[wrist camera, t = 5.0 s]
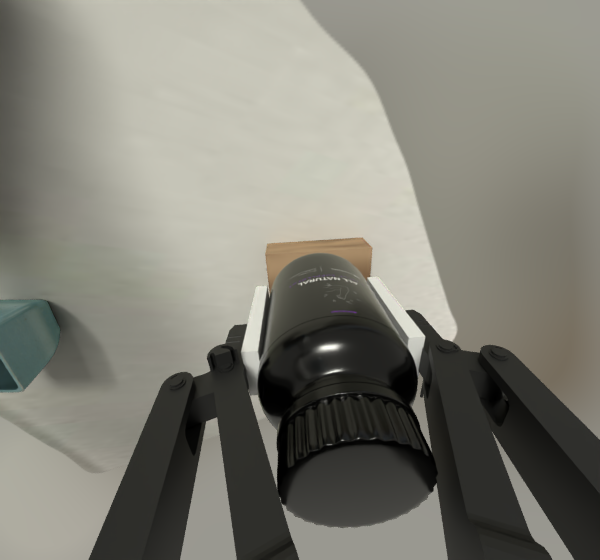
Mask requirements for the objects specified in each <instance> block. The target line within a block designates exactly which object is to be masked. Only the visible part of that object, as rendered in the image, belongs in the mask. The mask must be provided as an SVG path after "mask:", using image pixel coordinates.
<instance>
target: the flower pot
mask: <svg viewBox="0 0 600 560" xmlns="http://www.w3.org/2000/svg"><path fill="white" fill-rule="evenodd" d="M59 338H60V327H59V325H58V323H57V321H56V319H55V317H54V315H53V313H52V311H51V309H50V306H49V304H48V302H47V301H45V300H0V392H21V391H24V390H25V389H26V387H27V386H28V385H29V384H30V383H31V382H32V381H33V379H34V378H35V377H36V376H37V375H38V374H39V373H40V371H41V370H42V369H43V368H44V367H45V365H46V364H47V363H48V362H49V361H50V359H51V358H52V356H53V355H54V353H55V351H56V349H57V346H58V342H59Z"/></svg>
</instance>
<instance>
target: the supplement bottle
mask: <svg viewBox="0 0 600 560" xmlns="http://www.w3.org/2000/svg"><path fill="white" fill-rule="evenodd" d="M417 385H418V375H417V368H416V364H415V361H414V358H413V356H412V354H411V352H410V350H409V349H408V346H407V345H406V343H405V342H404V340H403V338H402V337H401V335H400V334H399V332H398V330H397V329H396V327H395V326H394V324H393V322H392V321H391V319H390V318H389V316H388V315H387V313H386V311H385V310H384V308H383V307H382V305H381V303H380V302H379V300H378V299H377V297H376V295H375V294H374V292H373V291H372V289H371V287H370V286H369V284H368V283H367V281H366V280H365V278H364V277H363V275H362V274H361V272H360V271H359V270H358V269H357V268H356V267H355V266H354V265H353V264H352V263H351V262H350V261H348V260H346V259H344V258H342V257H340V256H337V255H334V254H329V253H312V254H308V255H304V256H301V257H299V258H297V259H295V260H293V261H292V262H290V263H289V264H287V265H286V266H285V267H284V268H283V269H282V270H281V271H280V272H279V274H278V275H277V277H276V278H275V280H274V283H273V285H272V288H271V293H270V298H269V304H268V311H267V318H266V324H265V331H264V337H263V344H262V351H261V357H260V364H259V371H258V381H257V391H258V397H259V401H260V404H261V407H262V409H263V411H264V413H265V415H266V417H267V418H268V420H269V421H270V423H271V424H272V425H273V426H274V427H275V428H276V429H277V451H278V468H277V490H278V494H279V497H280V498H281V503H282V504H283V505H285V506H286V508H287V510H288V511H290V512H292V513H293V514H294V516H295V517H298V518H302V519H303V520H304V521H306V522H312V523H314V524H316V525H324V526H327V527H340V528H346V527H360V526H371V525H374V524H379V523H384V522H386V521H388V520H392V519H396V518H397V517H399V516H401V515H403V514H406V513H408V512H410V511H411V510H412V509H414V508H416V507H418V506H419V505H420V503H422V502H423V501H425V500H426V499H427V498H428V495H429V494H430V493H432V492H433V487H434V486H435V485H436V483H437V479H436V477H437V475H438V470H437V467H436V463H435V459H434V457H433V454H432V452H431V450H430V448H429V446H428V444H427V442H426V440H425V438H424V436H423V434H422V432H421V430H420V425H419V422H418V419H417V417H416V415H415V413H414V411H413V409H412V405H413V403H414V400H415V397H416V392H417Z"/></svg>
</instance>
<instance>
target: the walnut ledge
mask: <svg viewBox="0 0 600 560" xmlns="http://www.w3.org/2000/svg"><path fill="white" fill-rule="evenodd" d="M312 253H329V254H334V255H337V256H340V257H342V258H344V259H346V260H348V261H350V262H351V263H352V264H353V265H354V266H355V267H356V268H357V269H358V270H359V271H360V272H361V274H362V275H363V277H364V278H365V280H366V281H367V278H368V277H370V271H371V258H372V247H371V246H370V245H369V244H368V243H367V242H366V241H365V240H364V239H363V238H350V239H334V240H318V241H303V242H287V243H272V244H267V249H266V254H265V256H266V264H267V273H268V282H269V291H270V293H271V288H272V285H273V283H274V280H275V278H276V277H277V275H278V274H279V272H280V271H281V270H282V269H283V268H284V267H285V266H286V265H287V264H289V263H290V262H292V261H293V260H295V259H297V258H299V257H301V256H304V255H308V254H312Z"/></svg>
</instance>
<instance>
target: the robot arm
mask: <svg viewBox="0 0 600 560" xmlns="http://www.w3.org/2000/svg"><path fill="white" fill-rule="evenodd" d="M367 283H368V284H369V286H370V287H371V289H372V291H373V292H374V294H375V295H376V297H377V299H378V300H379V302H380V303H381V305H382V307H383V308H384V310H385V311H386V313H387V315H388V316H389V318H390V319H391V321H392V322H393V324H394V326H395V327H396V329H397V330H398V332H399V334H400V335H401V337H402V338H403V340H404V342H405V343H406V345H407V346H408V349H409V350H410V352H411V354H412V356H413V358H414V361H415V364H416V368H417V375H419V372H420V374H421V375H422V377H423V383H422V389H421V395H420V397H423V395H424V401H425V408H426V415H427V421H428V428H429V435H430V441H431V448H432V454H433V457H434V459H435V463H436V467H437V470H438V475H437V477H436V479H437V488H438V494H439V502H440V508H441V515H442V522H443V529H444V535H445V542H446V549H447V556H448V560H552V558H551V556H550V555H549V553H548V552H547V550H546V549H545V548H544V547H543V546H541V545H540V544H538V543H537V542H535V541H534V539H533V538H532V536H531V534H530V532H529V529H528V527H527V524H526V521H525V519H524V516H523V513H522V511H521V508H520V505H519V503H518V500H517V497H516V495H515V492H514V489H513V487H512V484H511V481H510V479H509V476H508V473H507V471H506V468H505V465H504V463H503V460H502V457H501V455H500V452H499V449H498V446H497V444H496V441H495V438H494V436H493V433H494V435H495V436H496V438H497V439H498V441H499V443H500V444H501V446H502V447H503V449H504V451H505V452H506V454H507V455H508V457H509V458H510V460H511V461H512V463H513V464H514V466H515V468H516V469H517V471H518V472H519V474H520V475H521V477H522V479H523V480H524V482H525V483H526V485H527V486H528V488H529V489H530V491H531V492H532V494H533V496H534V497H535V499H536V500H537V502H538V504H539V505H540V507H541V508H542V510H543V511H544V513H545V514H546V516H547V517H548V519H549V521H550V522H551V523H552V525H553V527H554V528H555V530H556V531H557V533H558V535H559V536H560V538H561V539H562V541H563V542H564V544H565V545H566V547H567V548H568V550H569V552H570V553H571V555H572V556H573V558H574V560H600V440H599V439H598V438H597V437H596V436H595V435H594V434H593V433H592V432H591V431H590V430H589V429H588V428H587V427H586V426H585V425H584V424H583V423H582V422H581V421H580V420H579V419H578V418H577V417H576V416H575V415H574V414H573V413H572V412H571V411H570V410H569V409H568V408H567V407H566V406H565V405H564V404H563V403H562V402H561V401H560V400H559V399H558V398H557V397H556V396H555V395H554V394H553V393H552V392H551V391H550V390H549V389H548V388H547V387H546V386H545V385H544V384H543V383H542V382H541V381H540V380H539V379H538V378H537V377H536V376H535V375H534V374H533V373H532V372H531V371H530V370H529V369H528V368H527V367H526V366H525V365H524V364H523V363H522V362H521V361H520V360H519V359H518V358H517V357H516V356H515V355H514V354H513V353H511V352H510V351H509V350H507V349H505V348H502V347H499V346H495V345H486V346H483V347H482V348H481V350H480V353H477V352H469V351H463V350H461V349H460V347H459V346H458V345H456V344H455V343H453V342H451V341H448V340H444V339H442V338H441V337H440V335H439V334H438V333H437V332H436V331H435V330H434V329H433V327H432V326H431V325H430V324H429V323H428V322H427V321H426V319H425V318H424V317H423V316H422V315H421V314H420V313H418V312H416V311H415V310H404V309H403V308H402V306H401V305H400V304H399V302H398V301H397V300H396V299H395V297H394V296H393V295H392V294H391V292H390V291H389V290H388V289H387V287H386V286H385V285H384V283H383V282H382V281H381V280H380V278H379V277H368V278H367ZM268 304H269V294H268V286H257V287H256V290H255V294H254V299H253V303H252V307H251V311H250V316H249V320H248V324H244V325H235V326H234V327H233V328H232V329H231V330H230V331H229V334H228V337H227V340H226V343H225V344H222V345H219V346H216V347H214V348H213V349H212V350H210V352H209V353H208V355H207V360H208V363H209V367H210V370H211V371H210V372H208V373H206V374H203V375H200V376H197V377H194V378H193V376H192V375H191V374H190V373H187V372H180V373H177V374H174V375H172V376H171V377H169V378H168V379H167V380H165V381H164V383H163V384H162V386H161V388H160V390H159V393H158V395H157V398H156V400H155V402H154V405H153V407H152V410H151V412H150V414H149V417H148V419H147V421H146V424H145V426H144V429H143V431H142V433H141V436H140V438H139V441H138V443H137V445H136V448H135V450H134V453H133V455H132V457H131V460H130V462H129V464H128V467H127V469H126V472H125V475H124V477H123V479H122V481H121V484H120V486H119V488H118V491H117V493H116V495H115V498H114V500H113V503H112V505H111V507H110V510H109V513H108V515H107V517H106V519H105V522H104V524H103V526H102V529H101V531H100V534H99V536H98V538H97V541H96V543H95V546H94V548H93V550H92V553H91V555H90V558H89V560H180V556H181V551H182V546H183V541H184V535H185V530H186V525H187V519H188V514H189V509H190V504H191V498H192V493H193V488H194V482H195V477H196V472H197V466H198V461H199V456H200V451H201V445H202V440H203V435H204V430H205V424H206V421H208V420H211V419H213V418H216V417H217V419H218V426H219V433H220V441H221V447H222V455H223V462H224V469H225V477H226V484H227V491H228V498H229V505H230V512H231V520H232V528H233V535H234V542H235V549H236V556H237V560H299V558H298V555H297V552H296V548H295V545H294V543H293V541H292V538H291V535H290V532H289V528H288V525H287V522H286V518H285V515H284V511H283V508H282V504H281V501H280V498H279V494H278V491H277V487H276V484H275V481H274V477H273V474H272V470H271V467H270V463H269V460H268V457H267V454H266V450H265V446H264V443H263V440H262V436H261V433H260V429H259V426H258V422H257V419H256V416H255V412H254V409H253V405H252V402H251V399H250V395H258V391H257V381H258V371H259V364H260V357H261V351H262V344H263V337H264V331H265V324H266V318H267V311H268ZM248 389H249V392H248ZM249 393H250V395H249ZM492 432H493V433H492Z"/></svg>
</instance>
